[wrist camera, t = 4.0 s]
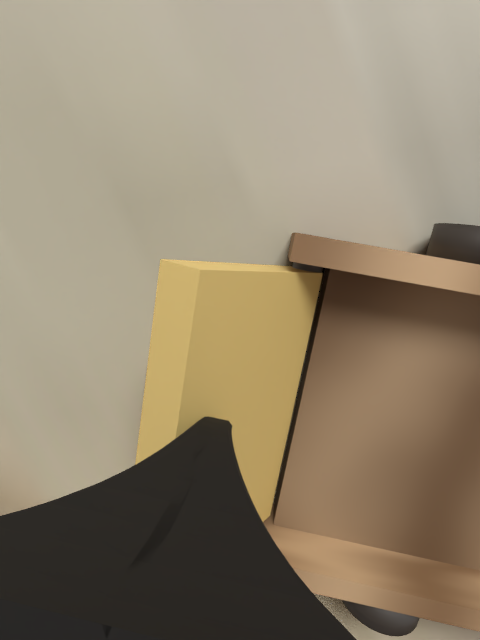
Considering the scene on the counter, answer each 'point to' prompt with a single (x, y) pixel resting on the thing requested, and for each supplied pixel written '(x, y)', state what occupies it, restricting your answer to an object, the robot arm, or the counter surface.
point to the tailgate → (229, 359)
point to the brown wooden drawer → (388, 434)
